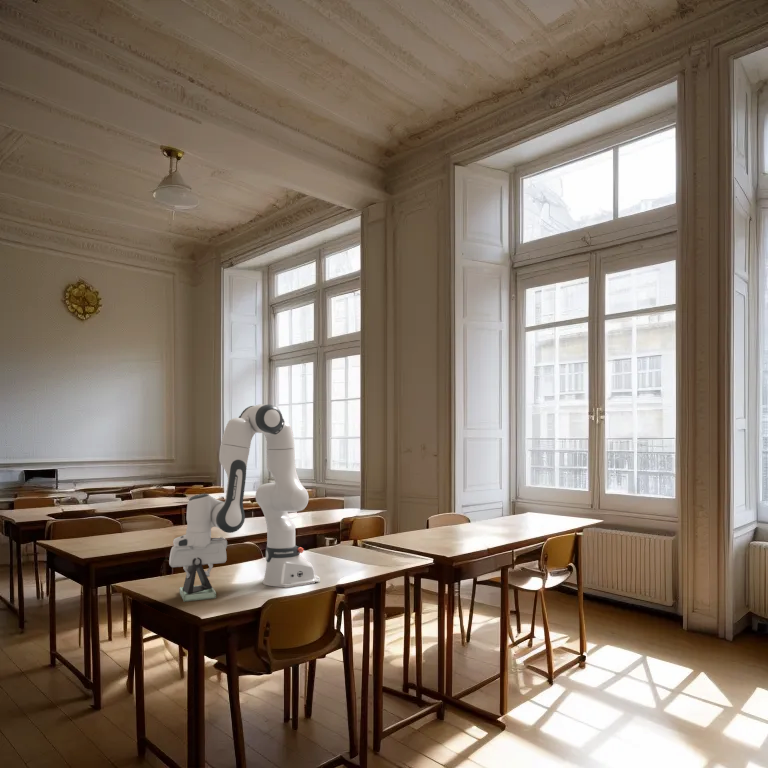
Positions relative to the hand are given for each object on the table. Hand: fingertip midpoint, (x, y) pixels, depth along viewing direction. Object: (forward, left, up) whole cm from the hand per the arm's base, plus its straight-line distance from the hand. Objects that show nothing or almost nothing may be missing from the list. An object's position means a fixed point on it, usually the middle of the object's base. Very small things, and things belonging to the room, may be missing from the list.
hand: (198, 577), depth 235 cm
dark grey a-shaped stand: (0, 0, -5) cm, 5 cm away
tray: (0, 0, -7) cm, 7 cm away
